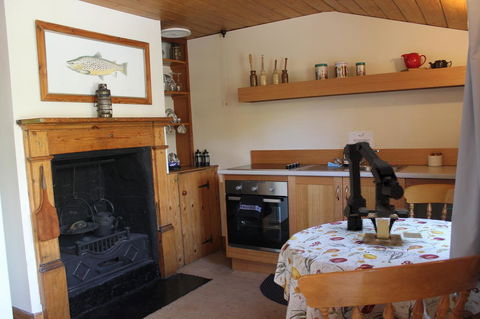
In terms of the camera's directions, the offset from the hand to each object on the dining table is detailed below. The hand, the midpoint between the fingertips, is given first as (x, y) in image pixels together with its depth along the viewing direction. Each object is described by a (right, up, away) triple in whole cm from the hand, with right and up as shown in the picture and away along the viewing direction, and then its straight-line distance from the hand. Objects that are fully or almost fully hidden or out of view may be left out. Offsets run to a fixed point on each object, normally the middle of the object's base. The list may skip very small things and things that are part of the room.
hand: (382, 233), depth 165 cm
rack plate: (0, -4, 0) cm, 4 cm away
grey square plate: (+15, -3, +7) cm, 17 cm away
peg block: (0, -3, 0) cm, 3 cm away
